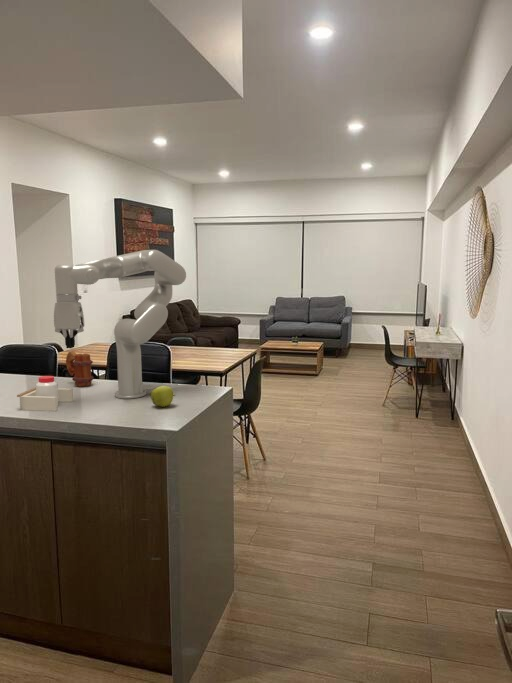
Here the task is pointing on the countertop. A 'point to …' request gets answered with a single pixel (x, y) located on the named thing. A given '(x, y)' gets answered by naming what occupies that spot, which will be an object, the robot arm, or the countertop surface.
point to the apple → (162, 396)
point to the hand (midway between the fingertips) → (70, 347)
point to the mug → (79, 368)
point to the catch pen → (43, 400)
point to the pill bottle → (47, 387)
